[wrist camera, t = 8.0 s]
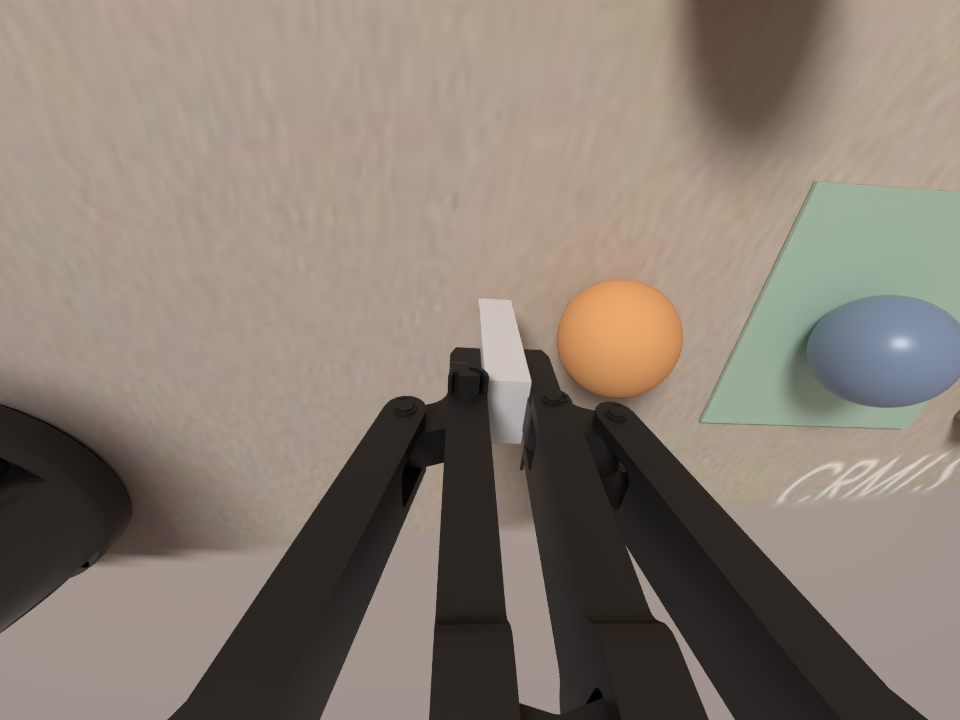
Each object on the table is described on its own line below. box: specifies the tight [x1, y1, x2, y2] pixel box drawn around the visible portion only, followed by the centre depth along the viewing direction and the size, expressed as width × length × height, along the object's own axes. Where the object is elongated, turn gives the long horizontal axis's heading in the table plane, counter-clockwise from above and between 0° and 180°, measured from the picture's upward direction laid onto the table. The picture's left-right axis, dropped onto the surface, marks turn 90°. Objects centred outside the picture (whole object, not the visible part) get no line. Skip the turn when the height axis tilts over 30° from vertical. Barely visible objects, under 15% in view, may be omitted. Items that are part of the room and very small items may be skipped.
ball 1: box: [557, 279, 683, 398], centre depth 18 cm, size 6×6×6 cm
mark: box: [700, 181, 960, 429], centre depth 21 cm, size 14×14×1 cm
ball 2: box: [806, 295, 960, 408], centre depth 19 cm, size 6×6×6 cm
